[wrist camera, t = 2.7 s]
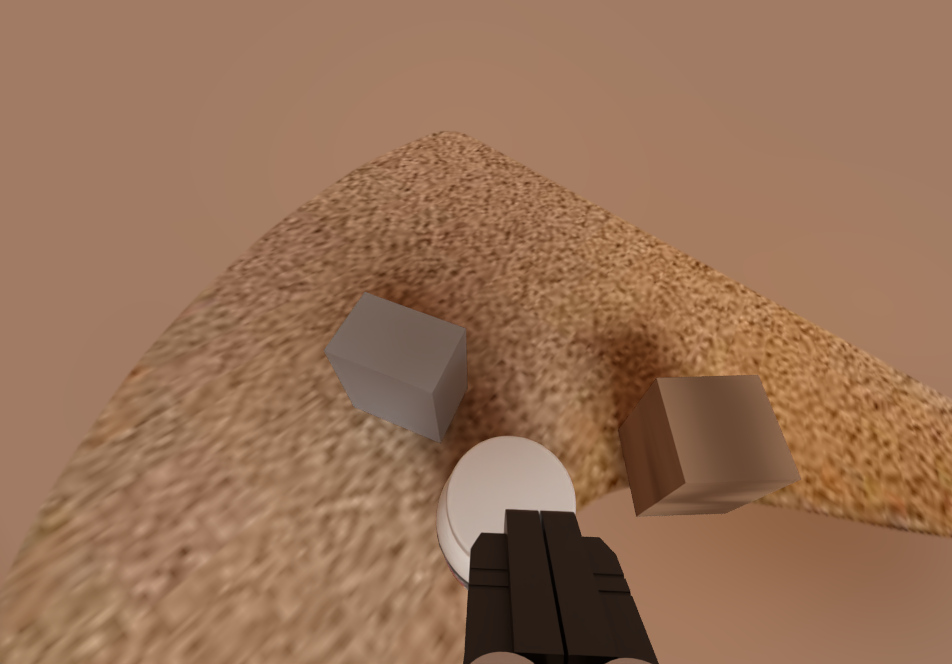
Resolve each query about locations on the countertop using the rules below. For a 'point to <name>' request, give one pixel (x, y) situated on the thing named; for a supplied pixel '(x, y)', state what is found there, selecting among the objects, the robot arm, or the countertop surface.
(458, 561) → the pill bottle
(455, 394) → the slate block
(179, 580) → the countertop surface
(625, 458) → the walnut block
